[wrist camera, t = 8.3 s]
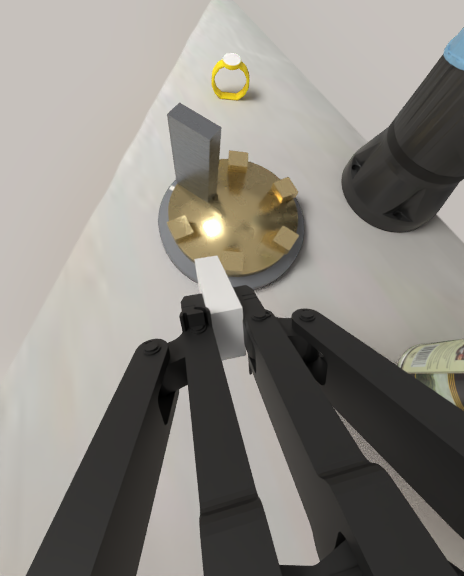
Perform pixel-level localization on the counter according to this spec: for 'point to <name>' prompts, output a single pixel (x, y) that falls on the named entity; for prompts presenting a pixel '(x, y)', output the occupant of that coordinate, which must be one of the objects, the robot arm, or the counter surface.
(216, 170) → the gold disc with cubes
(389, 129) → the robot arm
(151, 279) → the counter surface
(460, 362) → the coffee can
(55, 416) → the counter surface
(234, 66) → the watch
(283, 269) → the grey round base
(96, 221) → the counter surface
